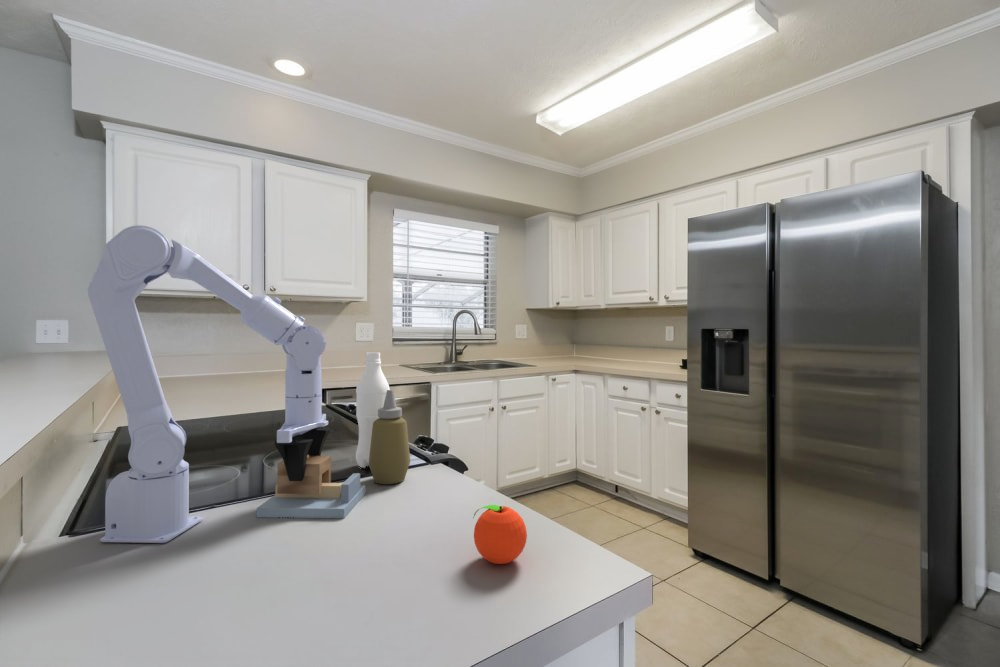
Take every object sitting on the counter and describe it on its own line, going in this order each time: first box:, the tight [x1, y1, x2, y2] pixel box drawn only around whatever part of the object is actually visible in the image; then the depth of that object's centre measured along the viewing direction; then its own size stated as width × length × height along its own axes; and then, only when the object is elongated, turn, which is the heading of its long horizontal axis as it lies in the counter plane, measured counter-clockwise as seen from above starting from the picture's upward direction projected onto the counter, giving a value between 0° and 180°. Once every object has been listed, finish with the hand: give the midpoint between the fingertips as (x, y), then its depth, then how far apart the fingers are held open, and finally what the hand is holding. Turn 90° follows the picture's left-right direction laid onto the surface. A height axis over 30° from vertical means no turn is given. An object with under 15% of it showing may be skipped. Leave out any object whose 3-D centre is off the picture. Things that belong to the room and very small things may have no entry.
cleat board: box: [256, 472, 366, 519], centre depth 78 cm, size 14×11×4 cm
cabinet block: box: [276, 455, 332, 494], centre depth 78 cm, size 7×5×6 cm
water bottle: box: [355, 351, 391, 468], centre depth 100 cm, size 7×7×25 cm
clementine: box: [472, 504, 528, 565], centre depth 60 cm, size 8×7×7 cm
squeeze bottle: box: [368, 389, 411, 485], centre depth 91 cm, size 8×8×18 cm
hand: (303, 475), depth 78 cm, fingers closed on cabinet block, 5 cm apart
